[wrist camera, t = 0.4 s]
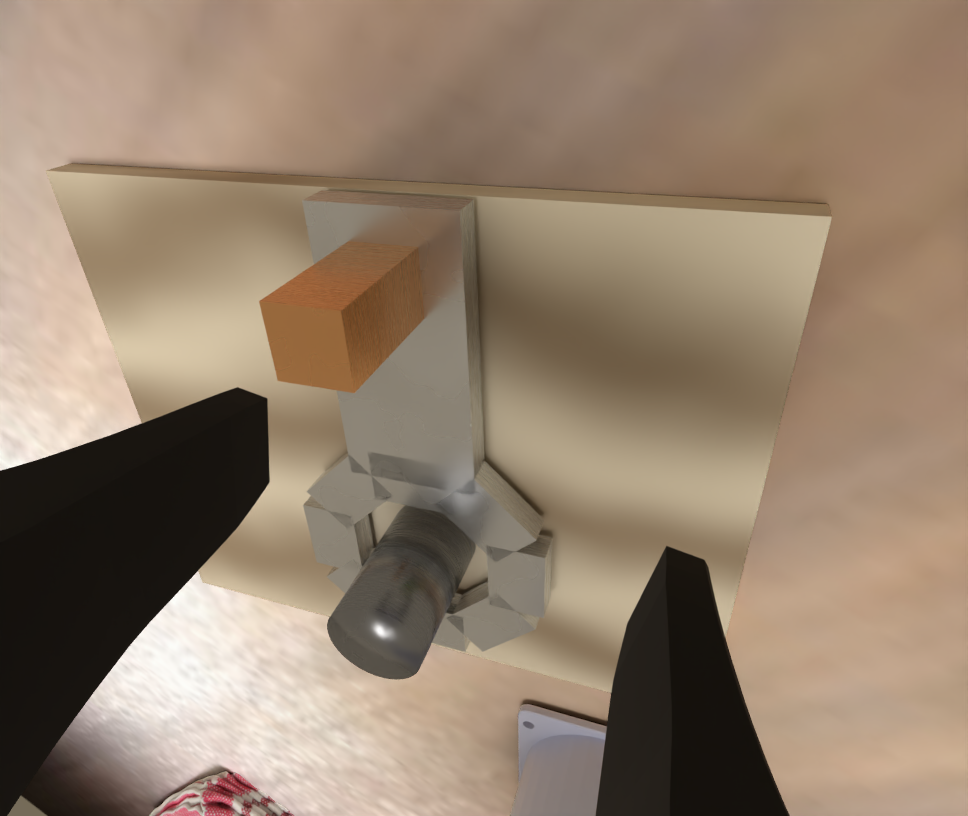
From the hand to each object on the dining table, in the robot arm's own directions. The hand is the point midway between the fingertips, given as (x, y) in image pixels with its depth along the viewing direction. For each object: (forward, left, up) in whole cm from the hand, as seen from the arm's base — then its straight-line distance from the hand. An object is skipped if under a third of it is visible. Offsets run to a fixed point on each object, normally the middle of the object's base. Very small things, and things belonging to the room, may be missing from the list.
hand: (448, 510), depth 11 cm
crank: (-5, +5, -8) cm, 11 cm away
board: (-6, +6, -9) cm, 13 cm away
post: (-9, +5, -9) cm, 14 cm away
